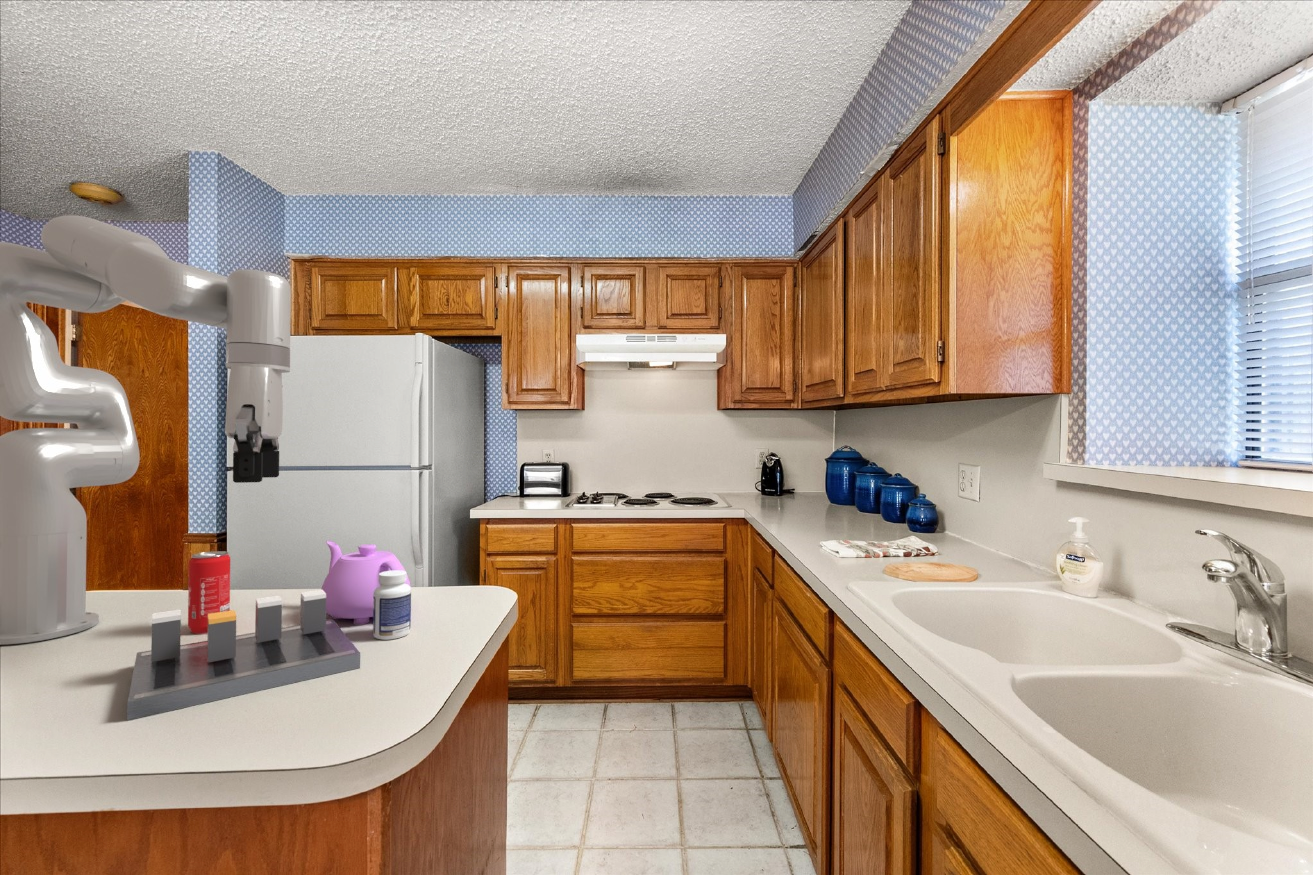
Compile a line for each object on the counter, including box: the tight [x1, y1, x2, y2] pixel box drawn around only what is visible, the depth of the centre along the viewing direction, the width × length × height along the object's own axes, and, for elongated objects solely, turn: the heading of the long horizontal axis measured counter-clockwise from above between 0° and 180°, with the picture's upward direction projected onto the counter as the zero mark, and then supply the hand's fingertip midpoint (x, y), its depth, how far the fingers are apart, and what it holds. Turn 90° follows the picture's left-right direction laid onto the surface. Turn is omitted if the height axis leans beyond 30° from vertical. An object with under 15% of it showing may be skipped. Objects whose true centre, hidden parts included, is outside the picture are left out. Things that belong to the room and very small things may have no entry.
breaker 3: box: [299, 589, 327, 634], centre depth 84 cm, size 3×3×5 cm
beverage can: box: [187, 550, 231, 635], centre depth 91 cm, size 5×5×12 cm
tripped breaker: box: [206, 609, 237, 662], centre depth 74 cm, size 3×3×5 cm
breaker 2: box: [254, 595, 283, 643], centre depth 81 cm, size 3×3×5 cm
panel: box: [126, 618, 361, 721], centre depth 76 cm, size 18×23×2 cm
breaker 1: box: [150, 609, 182, 662], centre depth 74 cm, size 3×3×5 cm
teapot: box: [320, 540, 412, 626], centre depth 100 cm, size 20×14×12 cm
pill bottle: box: [372, 570, 412, 641], centre depth 90 cm, size 5×5×10 cm
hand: (257, 479), depth 81 cm, fingers open, 9 cm apart
